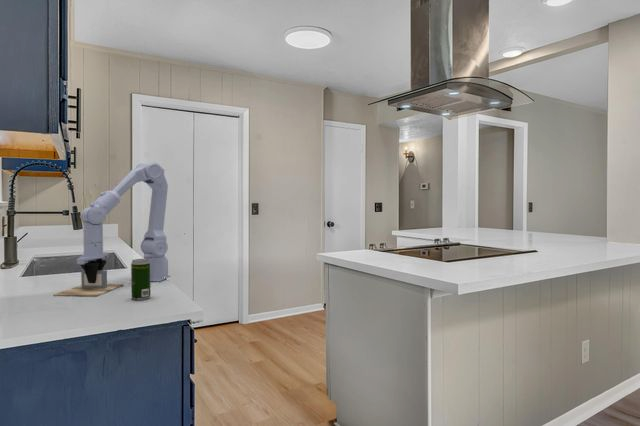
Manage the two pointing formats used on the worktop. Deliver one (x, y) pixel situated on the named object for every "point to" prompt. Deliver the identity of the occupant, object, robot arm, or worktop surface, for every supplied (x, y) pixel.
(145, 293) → the guarana soda can
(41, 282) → the worktop surface
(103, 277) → the tile
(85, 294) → the mat
